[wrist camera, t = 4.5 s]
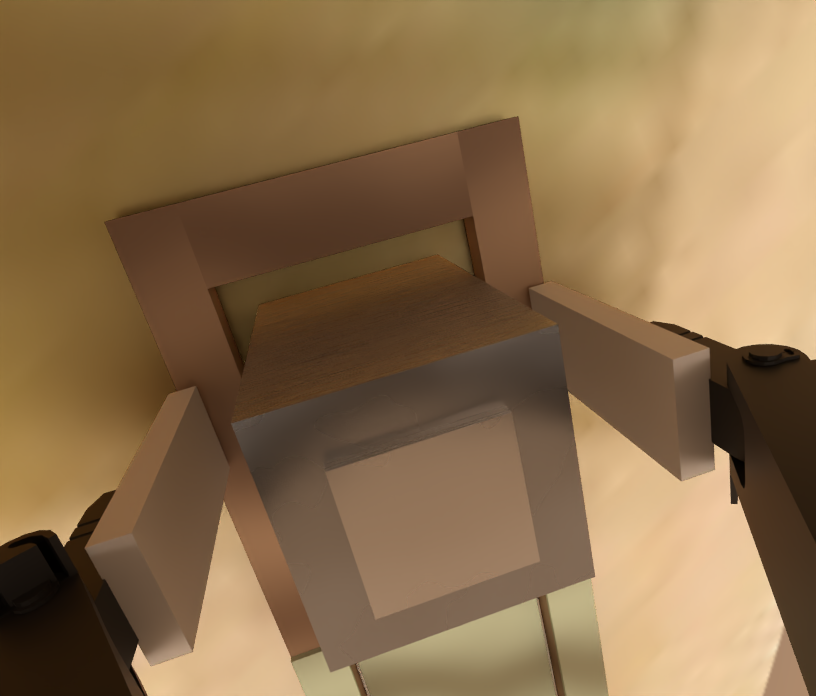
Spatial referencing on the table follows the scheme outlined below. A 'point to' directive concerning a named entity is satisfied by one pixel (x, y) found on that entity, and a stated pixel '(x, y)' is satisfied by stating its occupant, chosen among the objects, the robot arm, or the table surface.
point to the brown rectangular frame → (223, 368)
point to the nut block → (412, 454)
